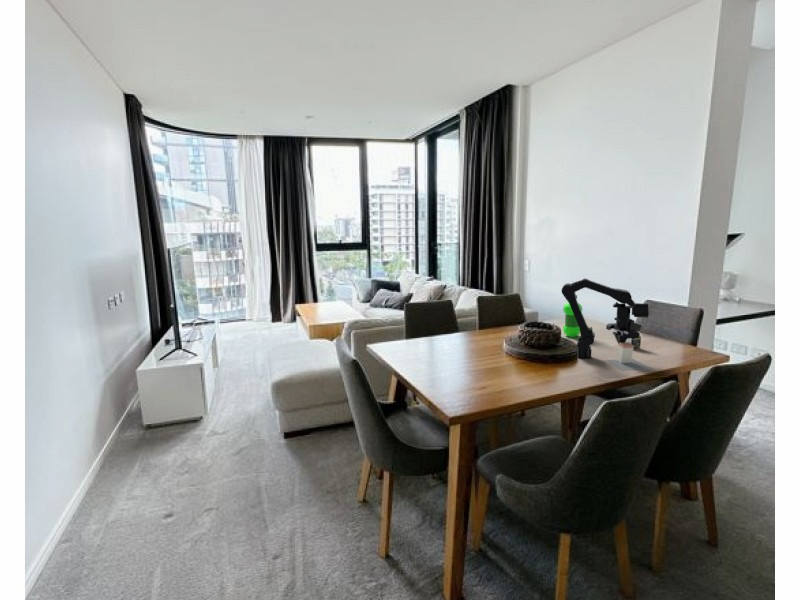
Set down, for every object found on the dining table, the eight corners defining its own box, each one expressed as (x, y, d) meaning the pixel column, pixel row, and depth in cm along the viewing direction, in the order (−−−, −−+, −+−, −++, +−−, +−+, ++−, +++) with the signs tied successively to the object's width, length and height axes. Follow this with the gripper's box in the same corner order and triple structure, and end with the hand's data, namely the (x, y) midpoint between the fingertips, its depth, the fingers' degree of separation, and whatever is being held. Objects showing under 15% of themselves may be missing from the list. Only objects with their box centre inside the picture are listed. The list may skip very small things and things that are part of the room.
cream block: (620, 363, 198) (623, 346, 194) (615, 359, 201) (618, 342, 198) (630, 362, 198) (633, 346, 194) (625, 358, 201) (629, 342, 198)
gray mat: (622, 371, 188) (622, 370, 188) (604, 361, 203) (605, 360, 203) (652, 370, 189) (652, 368, 189) (632, 359, 203) (632, 358, 203)
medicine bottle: (630, 350, 217) (632, 328, 215) (619, 347, 224) (620, 325, 222) (640, 348, 220) (642, 327, 218) (628, 345, 227) (630, 324, 224)
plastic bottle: (582, 334, 251) (583, 294, 246) (579, 339, 242) (580, 297, 237) (564, 333, 256) (566, 293, 251) (561, 337, 247) (562, 296, 243)
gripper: (652, 320, 189) (649, 352, 192) (627, 311, 207) (626, 341, 210) (628, 321, 188) (626, 353, 191) (606, 312, 207) (604, 342, 210)
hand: (621, 347), depth 200 cm, fingers closed
